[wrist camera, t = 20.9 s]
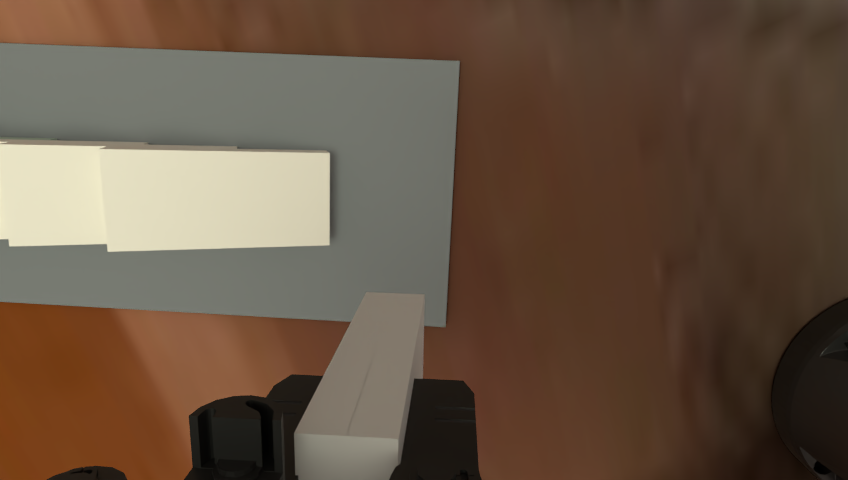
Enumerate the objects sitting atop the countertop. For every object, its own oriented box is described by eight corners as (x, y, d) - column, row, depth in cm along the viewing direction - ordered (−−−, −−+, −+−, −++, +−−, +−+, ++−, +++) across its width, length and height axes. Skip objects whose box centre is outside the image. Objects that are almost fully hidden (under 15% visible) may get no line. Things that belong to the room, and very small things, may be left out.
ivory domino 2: (329, 245, 37) (107, 251, 33) (325, 238, 39) (115, 243, 35) (329, 152, 36) (98, 149, 32) (325, 150, 37) (106, 146, 34)
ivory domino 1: (239, 240, 37) (9, 246, 33) (240, 233, 39) (22, 238, 35) (236, 148, 36) (-5, 144, 32) (237, 146, 38) (9, 141, 34)
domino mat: (445, 323, 40) (445, 327, 40) (-66, 294, 42) (-73, 297, 41) (459, 61, 36) (459, 61, 36) (-108, 39, 38) (-117, 38, 37)
